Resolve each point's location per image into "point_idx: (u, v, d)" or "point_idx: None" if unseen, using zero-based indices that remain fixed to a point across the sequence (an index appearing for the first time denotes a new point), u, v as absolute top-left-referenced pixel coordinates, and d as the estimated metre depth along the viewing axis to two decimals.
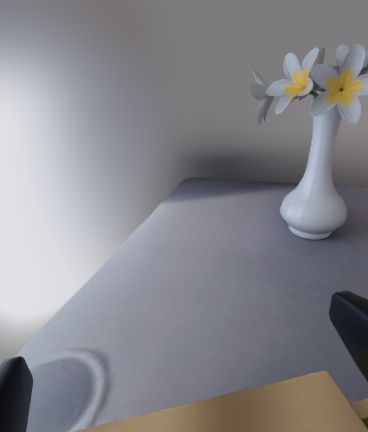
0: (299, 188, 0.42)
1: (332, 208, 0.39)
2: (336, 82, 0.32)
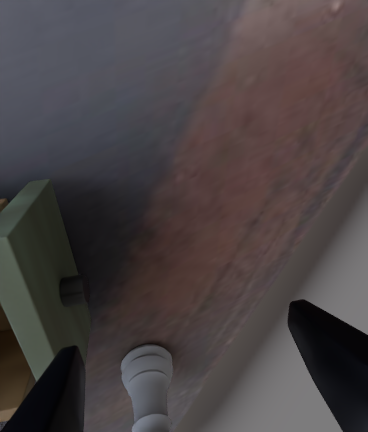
0: None
1: None
2: None
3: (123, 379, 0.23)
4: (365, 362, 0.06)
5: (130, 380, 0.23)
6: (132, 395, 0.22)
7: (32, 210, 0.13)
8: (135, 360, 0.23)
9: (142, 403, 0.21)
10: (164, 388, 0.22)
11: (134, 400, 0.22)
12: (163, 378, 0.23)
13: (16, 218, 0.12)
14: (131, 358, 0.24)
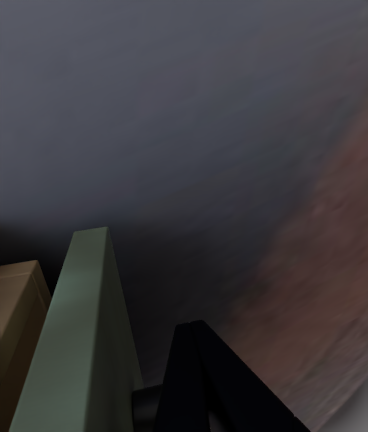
0: None
1: None
2: None
3: None
4: (224, 396, 0.06)
5: None
6: None
7: (102, 312, 0.07)
8: None
9: None
10: None
11: None
12: None
13: (83, 355, 0.05)
14: None
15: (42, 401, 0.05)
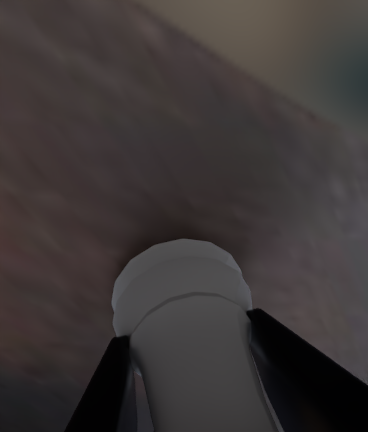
0: None
1: None
2: None
3: None
4: (304, 377, 0.06)
5: None
6: None
7: None
8: None
9: None
10: (174, 342, 0.07)
11: None
12: (158, 324, 0.07)
13: None
14: None
15: None
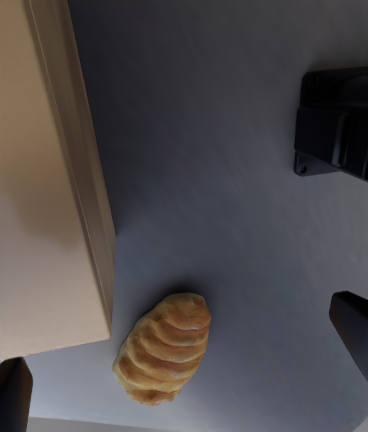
0: None
1: None
2: None
3: None
4: None
5: None
6: None
7: None
8: None
9: None
10: None
11: None
12: None
13: None
14: None
15: None
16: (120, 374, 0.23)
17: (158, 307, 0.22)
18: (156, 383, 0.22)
